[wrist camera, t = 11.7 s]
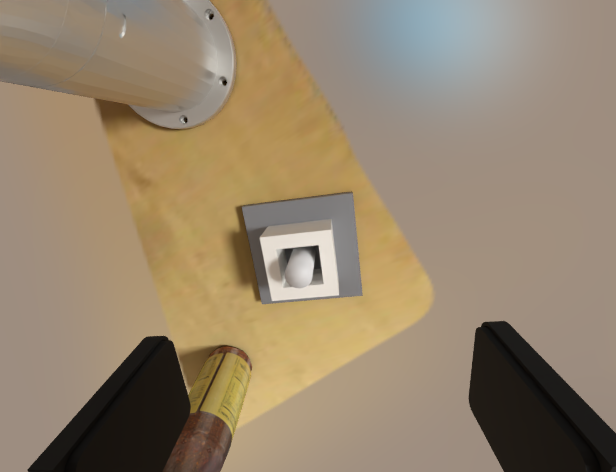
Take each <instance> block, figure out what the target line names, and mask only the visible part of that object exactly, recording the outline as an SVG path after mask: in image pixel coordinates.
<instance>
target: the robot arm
mask: <svg viewBox="0 0 616 472" xmlns="http://www.w3.org/2000/svg"><path fill="white" fill-rule="evenodd" d="M211 16H214V17H213V19H212V20H211ZM236 64H237V63H236V53H235V47H234V43H233V39H232V36H231V33H230V31H229V29H228V26H227V24H226V22H225V20H224V19H223V17H222V16H221V14H220V13H219V11H218V10H217V9H216V8H215V6H214V5H213V4H212V3H211V2H210V1H209V0H0V81H2V82H8V83H13V84H19V85H25V86H30V87H36V88H41V89H46V90H52V91H57V92H63V93H68V94H74V95H80V96H85V97H91V98H96V99H102V100H107V101H113V102H118V103H124V104H128V105H129V106H130V107H131V108H132V109H133V110H134V111H135V112H136V113H137V114H138V115H140V116H141V117H143V118H145V119H146V120H148V121H149V122H152V123H154V124H156V125H159V126H162V127H167V128H172V129H187V128H194V127H197V126H200V125H203V124H204V123H206V122H208V121H209V120H211V119H213V118H214V117H215V116H216V115H217V114H218V113H219V112H220V111H221V110H222V108H223V107H224V105H225V104H226V103H227V101H228V99H229V97H230V94H231V92H232V90H233V86H234V82H235V78H236ZM224 81H227V85H226V86H224ZM186 118H187V119H188V122H186ZM469 403H470V407H471V410H472V412H473V414H474V416H475V418H476V420H477V422H478V423H479V425H480V427H481V429H482V431H483V432H484V435H485V437H486V439H487V440H488V442H489V444H490V446H491V448H492V450H493V452H494V454H495V456H496V457H497V459H498V461H499V463H500V465H501V467H502V469H503V471H504V472H616V433H615V432H614V431H613V430H612V429H611V428H610V427H609V426H608V425H607V424H606V423H605V422H604V421H603V420H602V419H601V418H600V417H599V416H598V415H597V414H596V413H595V412H594V411H593V409H592V408H591V407H589V405H588V404H587V403H586V402H585V401H584V400H583V399H582V398H581V397H580V396H579V395H578V394H577V393H576V392H575V391H574V390H573V389H572V388H571V387H570V386H569V385H568V384H567V383H566V382H565V381H564V380H563V379H562V378H561V377H560V376H559V375H558V374H557V373H556V372H555V371H554V370H553V369H552V367H551V366H550V365H549V364H548V363H547V362H546V361H545V360H544V359H543V358H542V357H541V356H540V355H539V354H538V353H537V352H536V351H535V350H534V349H533V348H532V347H531V346H530V345H529V344H528V343H527V342H526V341H525V340H524V339H523V338H522V337H521V336H520V335H519V334H518V333H517V332H516V330H515V329H514V328H513V327H512V326H511V325H510V324H508V323H507V322H505V321H498V322H484V323H483V324H482V326H481V327H478V328H477V329H476V333H475V342H474V351H473V361H472V370H471V380H470V389H469ZM190 410H191V404H190V400H189V397H188V393H187V390H186V386H185V383H184V379H183V376H182V372H181V369H180V365H179V361H178V358H177V354H176V351H175V347H174V344H173V342H172V341H170V340H168V338H167V337H166V336H152V337H151V336H150V337H146V338H144V339H143V340H142V341H141V343H140V344H139V345H138V346H137V347H136V348H135V349H134V350H133V351H132V353H131V354H130V355H129V356H128V357H127V358H126V359H125V360H124V362H123V363H122V364H121V365H120V366H119V367H118V368H117V370H116V371H115V372H114V373H113V374H112V375H111V376H110V377H109V379H108V380H107V381H106V382H105V383H104V384H103V385H102V386H101V388H100V389H99V390H98V391H97V392H96V393H95V394H94V395H93V397H92V398H91V399H90V400H89V401H88V402H87V403H86V404H85V406H84V407H83V408H82V409H81V410H80V411H79V412H78V413H77V415H76V416H75V417H74V418H73V419H72V420H71V421H70V422H69V424H68V425H67V426H66V427H65V428H64V429H63V430H62V432H61V433H60V434H59V435H58V436H57V437H56V438H55V439H54V441H53V442H52V443H51V444H50V445H49V446H48V447H47V448H46V450H45V451H44V452H43V453H42V454H41V455H40V456H39V457H38V459H37V460H36V461H35V462H34V463H33V464H32V465H31V466H30V468H29V469H28V472H163V469H164V467H165V465H166V463H167V461H168V459H169V457H170V455H171V453H172V451H173V449H174V447H175V445H176V443H177V440H178V438H179V436H180V434H181V432H182V430H183V428H184V426H185V424H186V422H187V420H188V418H189V415H190Z"/></svg>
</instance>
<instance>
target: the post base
mask: <svg viewBox="0 0 616 472" xmlns="http://www.w3.org/2000/svg"><path fill="white" fill-rule="evenodd" d="M242 211H243V215H244V220H245V225H246V230H247V235H248V239H249V244H250V249H251V254H252V259H253V263H254V268H255V273H256V278H257V283H258V287H259V292H260V297H261V302H262V304H270V303H282V302H294V301H305V300H317V299H329V298H340V297H352V296H363V295H362V285H361V274H360V264H359V253H358V243H357V232H356V222H355V211H354V201H353V192H345V193H337V194H329V195H321V196H313V197H305V198H297V199H289V200H281V201H273V202H265V203H257V204H249V205H244V206H242ZM328 219H331V220H332V229H333V237H334V246H335V254H336V263H337V271H338V282H339V295H338V296H326V297H314V298H302V299H291V300H279V301H272V299H271V294H270V288H269V283H268V278H267V273H266V268H265V263H264V258H263V253H262V247H261V242H260V236H261V235H262V234H263V232H264V231H265V230H266V228H267V227H268V226H275V225H284V224H293V223H302V222H310V221H319V220H328ZM285 255H286V261H287V268H286V270H285V280H286V282H287V283H288V284H289V285H290V286H292V287H294V288H304V287H306V286H308V285H309V284H310V283H311V281H312V276H313V269H320V268H322V267H321V260H320V253H319V245H314V246H305V247H295V248H286V249H285Z"/></svg>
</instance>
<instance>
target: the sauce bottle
mask: <svg viewBox="0 0 616 472" xmlns="http://www.w3.org/2000/svg"><path fill="white" fill-rule="evenodd" d="M251 370H252V365H251V362H250V359H249V358H248V356H247V355H246V353H245V352H244V351H242V350H240V349H237V348H234V347H230V346H224V347H221V348H218V349H216V350H215V351H213V352H212V353H211V354H210V356H209V358H208V359H207V361H206V362H205V364H204V365H203V367H202V369H201V371H200V373H199V375H198V377H197V379H196V381H195V383H194V385H193V387H192V389H191V391H190V393H189V395H188V397H189V400H190V404H191V410H190V415H189V418H188V420H187V422H186V424H185V426H184V428H183V430H182V432H181V434H180V436H179V438H178V440H177V443H176V445H175V447H174V449H173V451H172V453H171V455H170V457H169V459H168V461H167V463H166V465H165V467H164V469H163V472H220V471H221V468H222V466H223V464H224V461H225V459H226V456H227V454H228V451H229V448H230V446H231V442H232V438H233V435H234V432H235V429H236V425H237V422H238V419H239V416H240V412H241V409H242V406H243V402H244V398H245V395H246V391H247V388H248V385H249V381H250V377H251Z"/></svg>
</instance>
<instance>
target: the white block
mask: <svg viewBox="0 0 616 472" xmlns="http://www.w3.org/2000/svg"><path fill="white" fill-rule="evenodd" d="M260 242H261V247H262V253H263V258H264V263H265V268H266V273H267V278H268V283H269V288H270V294H271V299H272V301H279V300H291V299H302V298H314V297H326V296H338V295H339V282H338V271H337V263H336V254H335V246H334V237H333V229H332V220H331V219H328V220H319V221H310V222H302V223H293V224H284V225H275V226H268V227H267V228H266V230H265V231H264V232H263V234H262V235H261V236H260ZM314 245H319V253H320V260H321V267H322V268H320V269H313V276H312V281H311V283H310V284H309V285H308V286H306V287H304V288H294V287H292V286H290V285H289V284H288V283H287V282H286V280H285V270H286V268H287V261H286V255H285V249H286V248H295V247H305V246H314Z"/></svg>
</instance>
